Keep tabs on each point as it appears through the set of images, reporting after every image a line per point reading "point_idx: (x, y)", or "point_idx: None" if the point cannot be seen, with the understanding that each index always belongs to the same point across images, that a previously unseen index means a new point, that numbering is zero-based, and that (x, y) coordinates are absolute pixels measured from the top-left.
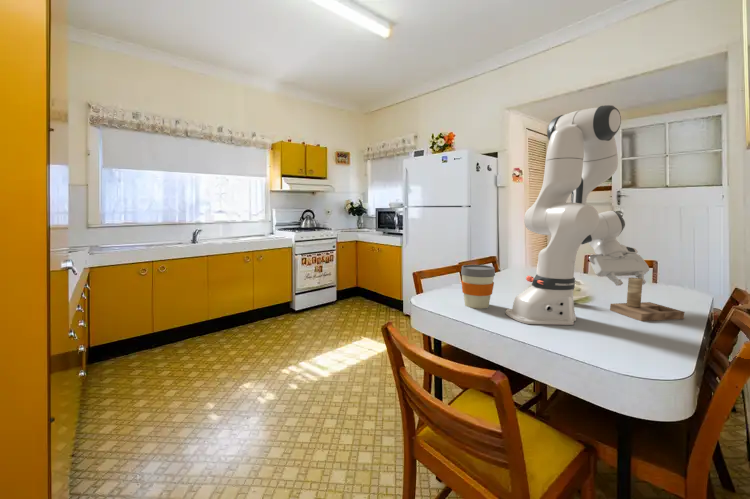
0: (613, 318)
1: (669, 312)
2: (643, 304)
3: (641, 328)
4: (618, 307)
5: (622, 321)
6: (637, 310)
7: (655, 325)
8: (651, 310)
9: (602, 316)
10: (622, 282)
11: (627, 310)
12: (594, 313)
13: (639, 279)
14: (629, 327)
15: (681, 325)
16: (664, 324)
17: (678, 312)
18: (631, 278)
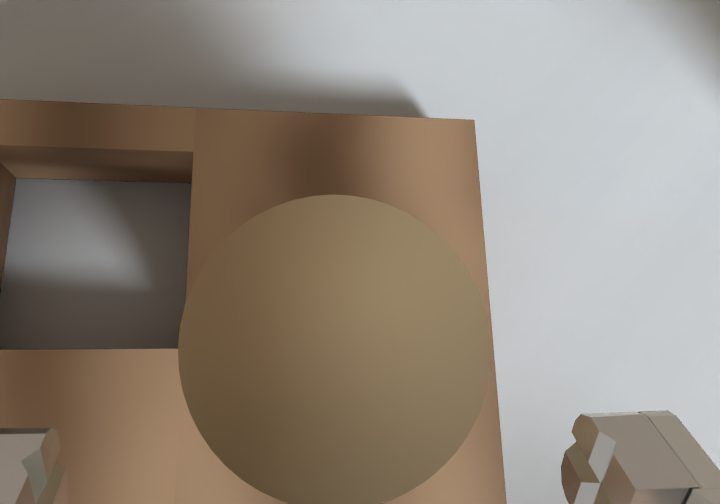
0: (636, 253)
1: (141, 105)
2: (93, 444)
3: (592, 18)
4: (491, 400)
5: (616, 171)
6: (418, 219)
7: (427, 48)
8: (264, 195)
9: (696, 321)
10: (596, 415)
11: (483, 277)
12: (715, 422)
13: (367, 200)
14: (662, 50)
15: (210, 10)
16: (329, 53)
17: (21, 102)
18: (466, 338)
